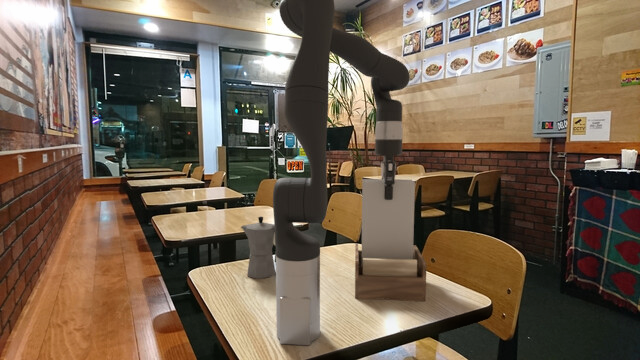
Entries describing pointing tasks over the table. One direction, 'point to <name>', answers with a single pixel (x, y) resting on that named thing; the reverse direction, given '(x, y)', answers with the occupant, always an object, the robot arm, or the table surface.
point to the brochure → (387, 220)
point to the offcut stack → (390, 267)
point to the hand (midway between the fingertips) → (387, 197)
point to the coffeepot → (260, 249)
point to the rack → (391, 282)
